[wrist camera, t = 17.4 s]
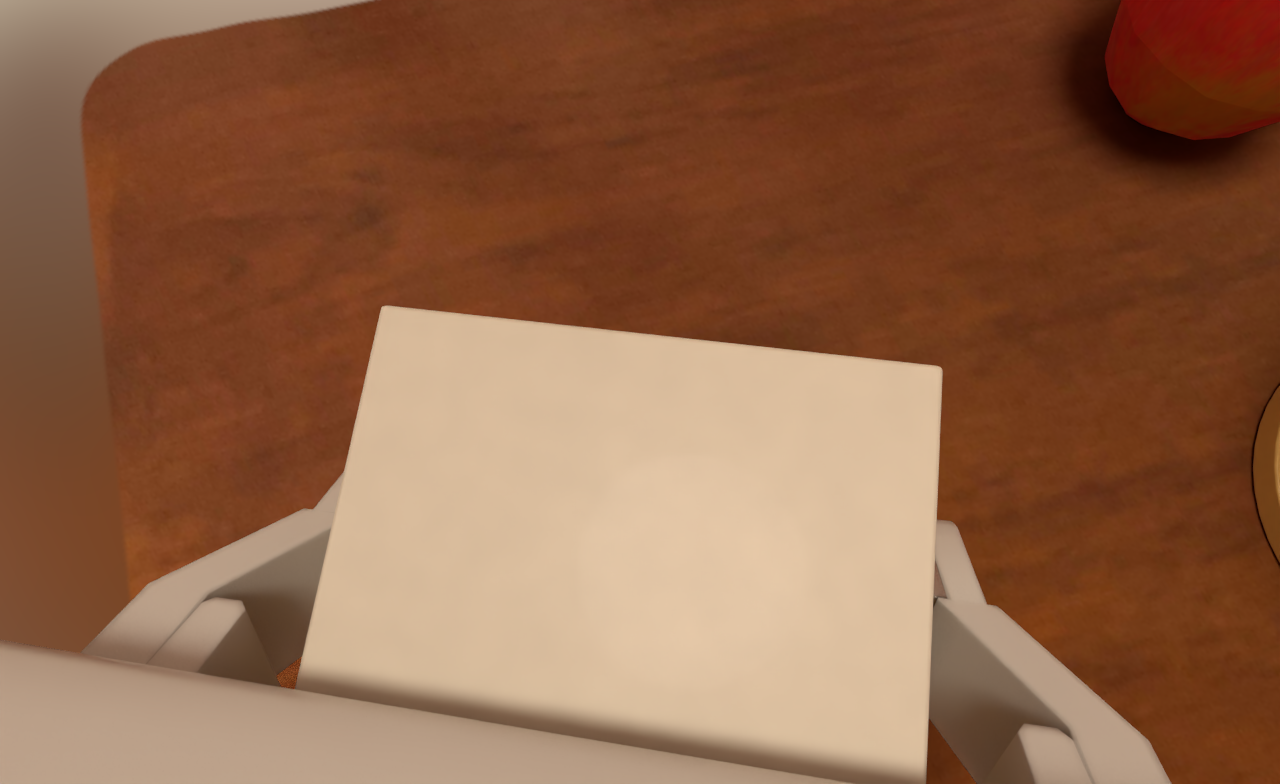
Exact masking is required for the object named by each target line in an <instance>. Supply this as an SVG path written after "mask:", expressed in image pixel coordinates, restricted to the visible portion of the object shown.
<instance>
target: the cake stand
mask: <svg viewBox="0 0 1280 784" xmlns="http://www.w3.org/2000/svg"><path fill="white" fill-rule="evenodd" d="M1253 477H1254V491H1255V496H1256V501H1257V506H1258V510H1259V515H1260V518H1261V521H1262V524H1263V527H1264V530H1265V533H1266V535H1267V538H1268V540H1269V543H1270V545H1271V547H1272V549H1273V551H1274V553H1275V555H1276V557H1277V559H1278V561H1279V563H1280V386H1279V387H1278V388H1277V390H1276V391H1275V393H1274V395H1273V396H1272V398H1271V400H1270V401H1269V403H1268V405H1267V407H1266V409H1265V412H1264V414H1263V417H1262V419H1261V422H1260V424H1259V428H1258V433H1257V437H1256V441H1255V446H1254V459H1253Z"/></svg>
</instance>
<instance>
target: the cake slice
mask: <svg viewBox="0 0 1280 784" xmlns="http://www.w3.org/2000/svg"><path fill="white" fill-rule="evenodd" d="M942 373H943V372H942V368H941V367H938V366H934V365H925V364H916V363H907V362H897V361H888V360H879V359H870V358H861V357H852V356H843V355H834V354H824V353H815V352H806V351H797V350H788V349H779V348H770V347H761V346H751V345H742V344H733V343H724V342H715V341H706V340H697V339H688V338H678V337H669V336H660V335H651V334H642V333H633V332H624V331H615V330H605V329H596V328H587V327H578V326H569V325H560V324H551V323H542V322H532V321H523V320H514V319H505V318H496V317H487V316H478V315H469V314H459V313H450V312H441V311H432V310H423V309H414V308H405V307H396V306H383V307H382V308H381V311H380V316H379V320H378V325H377V329H376V333H375V338H374V342H373V347H372V351H371V355H370V360H369V364H368V369H367V373H366V377H365V382H364V386H363V391H362V395H361V400H360V404H359V408H358V413H357V417H356V422H355V426H354V430H353V435H352V439H351V444H350V448H349V452H348V457H347V461H346V466H345V470H344V475H343V479H342V483H341V488H340V492H339V497H338V501H337V505H336V510H335V514H334V519H333V523H332V527H331V532H330V536H329V541H328V545H327V550H326V554H325V558H324V563H323V567H322V572H321V576H320V580H319V585H318V589H317V594H316V598H315V603H314V607H313V611H312V616H311V620H310V625H309V629H308V633H307V638H306V642H305V647H304V651H303V655H302V660H301V664H300V669H299V673H298V678H297V682H296V686H295V690H301V691H307V692H313V693H319V694H325V695H331V696H337V697H343V698H348V699H354V700H360V701H366V702H372V703H378V704H384V705H390V706H396V707H402V708H408V709H414V710H420V711H426V712H432V713H438V714H443V715H449V716H455V717H461V718H467V719H473V720H479V721H485V722H491V723H497V724H503V725H508V726H514V727H520V728H526V729H532V730H538V731H544V732H550V733H556V734H562V735H567V736H573V737H579V738H585V739H591V740H597V741H603V742H609V743H615V744H621V745H627V746H633V747H638V748H644V749H650V750H656V751H662V752H668V753H674V754H680V755H686V756H692V757H698V758H704V759H710V760H716V761H722V762H728V763H734V764H740V765H746V766H752V767H758V768H764V769H770V770H776V771H782V772H788V773H794V774H800V775H806V776H812V777H818V778H824V779H830V780H836V781H842V782H848V783H854V784H926V770H927V745H928V721H929V696H930V671H931V646H932V621H933V596H934V572H935V547H936V522H937V497H938V472H939V447H940V422H941V398H942Z"/></svg>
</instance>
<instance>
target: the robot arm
mask: <svg viewBox="0 0 1280 784" xmlns="http://www.w3.org/2000/svg"><path fill="white" fill-rule="evenodd" d="M343 475H344V472H343V473H342V475H341V476H340V477H339V478H338V479H337V481H336V482H335V483H334V484H333V486H332V487H331V488H330V489H329V490H328V492H327V493H326V494H325V495H324V497H323V498H322V499H321V500H320V501H319V503H318V504H317V505H316V506H315V508H314V509H313V510H312V509H302V510H300V511H298V512H296V513H294V514H292V515H290V516H288V517H286V518H284V519H281V520H279V521H277V522H275V523H273V524H271V525H269V526H267V527H265V528H263V529H261V530H259V531H257V532H254V533H252V534H250V535H248V536H246V537H244V538H242V539H240V540H238V541H236V542H234V543H232V544H230V545H228V546H225V547H223V548H221V549H219V550H217V551H215V552H213V553H211V554H209V555H207V556H205V557H203V558H201V559H199V560H196V561H194V562H192V563H190V564H188V565H186V566H184V567H182V568H180V569H178V570H176V571H174V572H172V573H169V574H167V575H165V576H163V577H161V578H159V579H157V580H155V581H153V582H151V583H149V584H148V585H147V586H146V587H145V588H144V589H143V590H142V591H141V592H140V593H139V594H138V595H137V596H136V597H135V598H134V599H133V600H132V601H131V602H130V603H129V604H128V605H127V606H126V607H125V608H124V609H123V610H122V611H121V612H120V613H119V614H118V615H117V616H116V617H115V618H114V619H113V620H112V621H111V622H110V623H109V624H108V625H107V626H106V627H105V628H104V629H103V630H102V631H101V632H100V633H99V634H98V635H97V636H96V637H95V638H94V639H93V640H92V642H90V644H88V645H87V646H86V648H84V650H83V651H82V652H81V653H76V652H69V651H64V650H58V649H52V648H45V647H40V646H34V645H28V644H22V643H16V642H10V641H4V640H0V784H854V783H848V782H842V781H836V780H830V779H824V778H818V777H812V776H806V775H800V774H794V773H788V772H782V771H776V770H770V769H764V768H758V767H752V766H746V765H740V764H734V763H728V762H722V761H716V760H710V759H704V758H698V757H692V756H686V755H680V754H674V753H668V752H662V751H656V750H650V749H644V748H638V747H633V746H627V745H621V744H615V743H609V742H603V741H597V740H591V739H585V738H579V737H573V736H567V735H562V734H556V733H550V732H544V731H538V730H532V729H526V728H520V727H514V726H508V725H503V724H497V723H491V722H485V721H479V720H473V719H467V718H461V717H455V716H449V715H443V714H438V713H432V712H426V711H420V710H414V709H408V708H402V707H396V706H390V705H384V704H378V703H372V702H366V701H360V700H354V699H348V698H343V697H337V696H331V695H325V694H319V693H313V692H307V691H301V690H295V689H289V688H283V687H281V685H280V683H279V681H278V679H277V677H276V676H277V675H278V674H279V673H280V672H282V671H283V670H284V669H286V668H287V667H288V666H290V665H291V664H292V663H294V662H295V661H296V660H297V659H299V658H300V657H301V656H302V655H303V651H304V647H305V642H306V638H307V633H308V629H309V625H310V620H311V616H312V611H313V607H314V603H315V598H316V594H317V589H318V585H319V580H320V576H321V572H322V567H323V563H324V558H325V554H326V550H327V545H328V541H329V536H330V532H331V527H332V523H333V519H334V514H335V510H336V505H337V501H338V497H339V492H340V488H341V483H342V479H343ZM929 719H930V720H931V722H932V723H933V724H934V726H935V727H936V728H937V730H938V731H939V733H940V734H941V735H942V737H943V738H944V739H945V741H946V742H947V744H948V745H949V746H950V748H951V749H952V750H953V752H954V753H955V755H956V756H957V757H958V759H959V760H960V761H961V763H962V764H963V766H964V767H965V768H966V770H967V771H968V772H969V774H970V775H971V777H972V778H973V779H974V781H975V782H976V783H977V784H1171V782H1170V781H1169V779H1168V777H1167V775H1166V773H1165V771H1164V769H1163V767H1162V765H1161V763H1160V761H1159V759H1158V757H1157V756H1156V754H1155V752H1154V750H1153V748H1152V746H1151V744H1150V742H1149V740H1147V739H1146V738H1145V737H1144V736H1143V735H1142V734H1141V733H1140V732H1138V731H1137V730H1136V729H1135V728H1134V727H1133V726H1132V725H1131V724H1129V723H1128V722H1127V721H1126V720H1125V719H1124V718H1123V717H1122V716H1120V715H1119V714H1118V713H1117V712H1116V711H1115V710H1114V709H1113V708H1111V707H1110V706H1109V705H1108V704H1107V703H1106V702H1105V701H1104V700H1102V699H1101V698H1100V697H1099V696H1098V695H1097V694H1096V693H1095V692H1093V691H1092V690H1091V689H1090V688H1089V687H1088V686H1087V685H1086V684H1084V683H1083V682H1082V681H1081V680H1080V679H1079V678H1078V677H1077V676H1075V675H1074V674H1073V673H1072V672H1071V671H1070V670H1069V669H1068V668H1066V667H1065V666H1064V665H1063V664H1062V663H1061V662H1060V661H1059V660H1057V659H1056V658H1055V657H1054V656H1053V655H1052V654H1051V653H1050V652H1048V651H1047V650H1046V649H1045V648H1044V647H1043V646H1042V645H1041V644H1039V643H1038V642H1037V641H1036V640H1035V639H1034V638H1033V637H1032V636H1030V635H1029V634H1028V633H1027V632H1026V631H1025V630H1024V629H1022V628H1021V627H1020V626H1019V625H1018V624H1017V623H1016V622H1015V621H1013V620H1012V619H1011V618H1010V617H1009V616H1008V615H1007V614H1006V613H1004V612H1003V611H1002V610H1001V609H1000V608H999V607H998V606H993V605H987V603H986V600H985V598H984V595H983V593H982V590H981V587H980V585H979V582H978V580H977V577H976V575H975V572H974V569H973V567H972V564H971V562H970V559H969V556H968V554H967V551H966V549H965V546H964V544H963V541H962V538H961V536H960V533H959V531H958V528H957V526H956V525H955V524H954V523H953V522H952V521H945V520H937V522H936V547H935V572H934V596H933V621H932V646H931V671H930V696H929Z"/></svg>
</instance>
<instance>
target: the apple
mask: <svg viewBox="0 0 1280 784" xmlns="http://www.w3.org/2000/svg"><path fill="white" fill-rule="evenodd" d="M1105 63H1106V69H1107V74H1108V80H1109V86H1110V87H1111V89H1112V91H1113V92H1114V94H1115V96H1116V97H1117V99H1118V100H1119V102H1120V104H1121V106H1122V107H1123V109H1124V111H1125V112H1126V114H1127V115H1128V116H1130V117H1131V118H1133V119H1134V120H1136V121H1137V122H1139V123H1140V124H1141V125H1145V126H1148V127H1151V128H1154V129H1157V130H1160V131H1163V132H1167V133H1170V134H1174V135H1178V136H1181V137H1185V138H1188V139H1192V140H1201V139H1214V138H1227V137H1232V136H1235V135H1238V134H1241V133H1245V132H1248V131H1251V130H1254V129H1257V128H1261V127H1264V126H1267V125H1270V124H1273V123H1277V122H1280V0H1121V2H1120V6H1119V9H1118V12H1117V15H1116V19H1115V22H1114V25H1113V28H1112V32H1111V35H1110V39H1109V42H1108V46H1107V49H1106V53H1105Z"/></svg>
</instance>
